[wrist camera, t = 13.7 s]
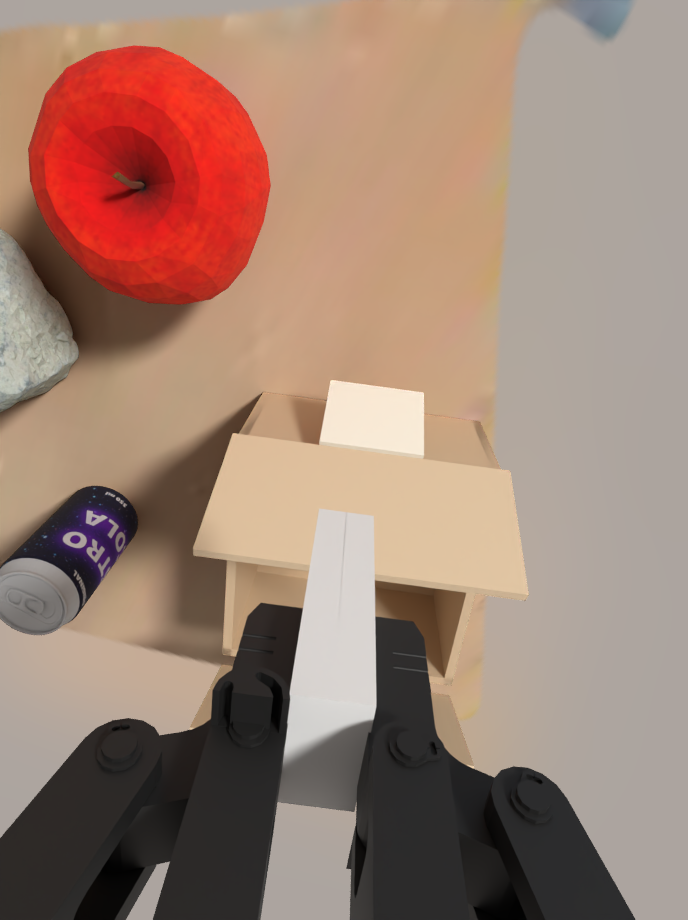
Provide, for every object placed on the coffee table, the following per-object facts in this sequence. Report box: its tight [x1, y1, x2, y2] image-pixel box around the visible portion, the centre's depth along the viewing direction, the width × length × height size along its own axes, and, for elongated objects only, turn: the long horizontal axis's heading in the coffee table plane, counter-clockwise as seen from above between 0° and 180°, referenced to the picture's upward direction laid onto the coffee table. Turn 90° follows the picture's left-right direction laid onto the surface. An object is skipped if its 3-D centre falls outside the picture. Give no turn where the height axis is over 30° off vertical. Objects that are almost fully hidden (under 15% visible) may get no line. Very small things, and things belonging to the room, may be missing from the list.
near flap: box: [193, 380, 529, 601], centre depth 33 cm, size 16×14×1 cm
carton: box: [222, 392, 500, 686], centre depth 42 cm, size 16×16×10 cm
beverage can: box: [0, 486, 138, 635], centre depth 43 cm, size 6×6×12 cm
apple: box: [28, 46, 270, 304], centre depth 32 cm, size 12×12×13 cm
